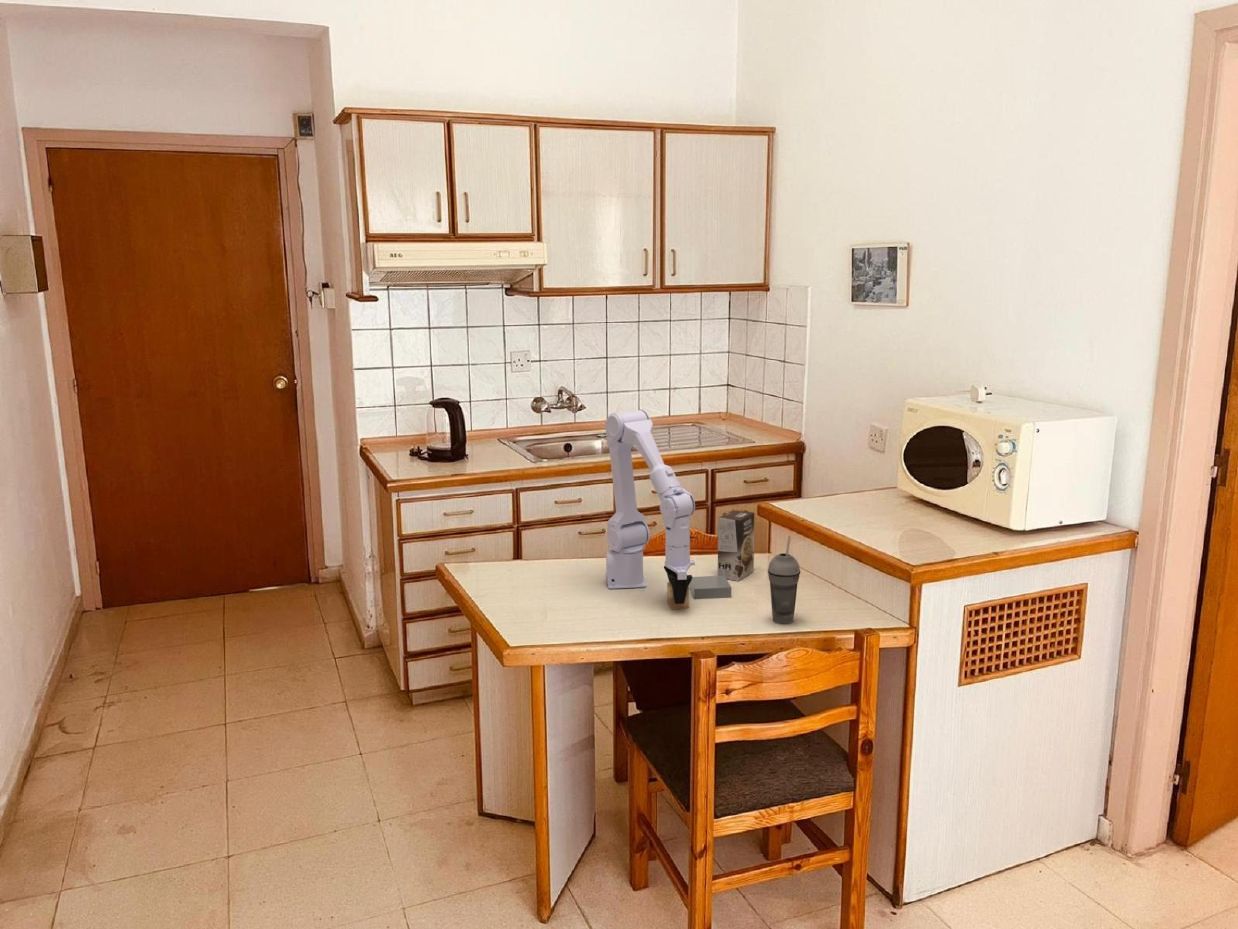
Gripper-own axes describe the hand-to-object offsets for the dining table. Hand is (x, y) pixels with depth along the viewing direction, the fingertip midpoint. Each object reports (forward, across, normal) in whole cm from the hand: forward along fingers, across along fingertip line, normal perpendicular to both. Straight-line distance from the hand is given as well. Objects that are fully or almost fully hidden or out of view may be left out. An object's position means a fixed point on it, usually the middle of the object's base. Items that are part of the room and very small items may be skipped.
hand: (677, 599), depth 229 cm
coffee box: (+2, +20, -18) cm, 27 cm away
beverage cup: (+2, -13, -22) cm, 26 cm away
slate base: (+1, +8, -9) cm, 12 cm away
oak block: (+2, 0, 0) cm, 2 cm away
